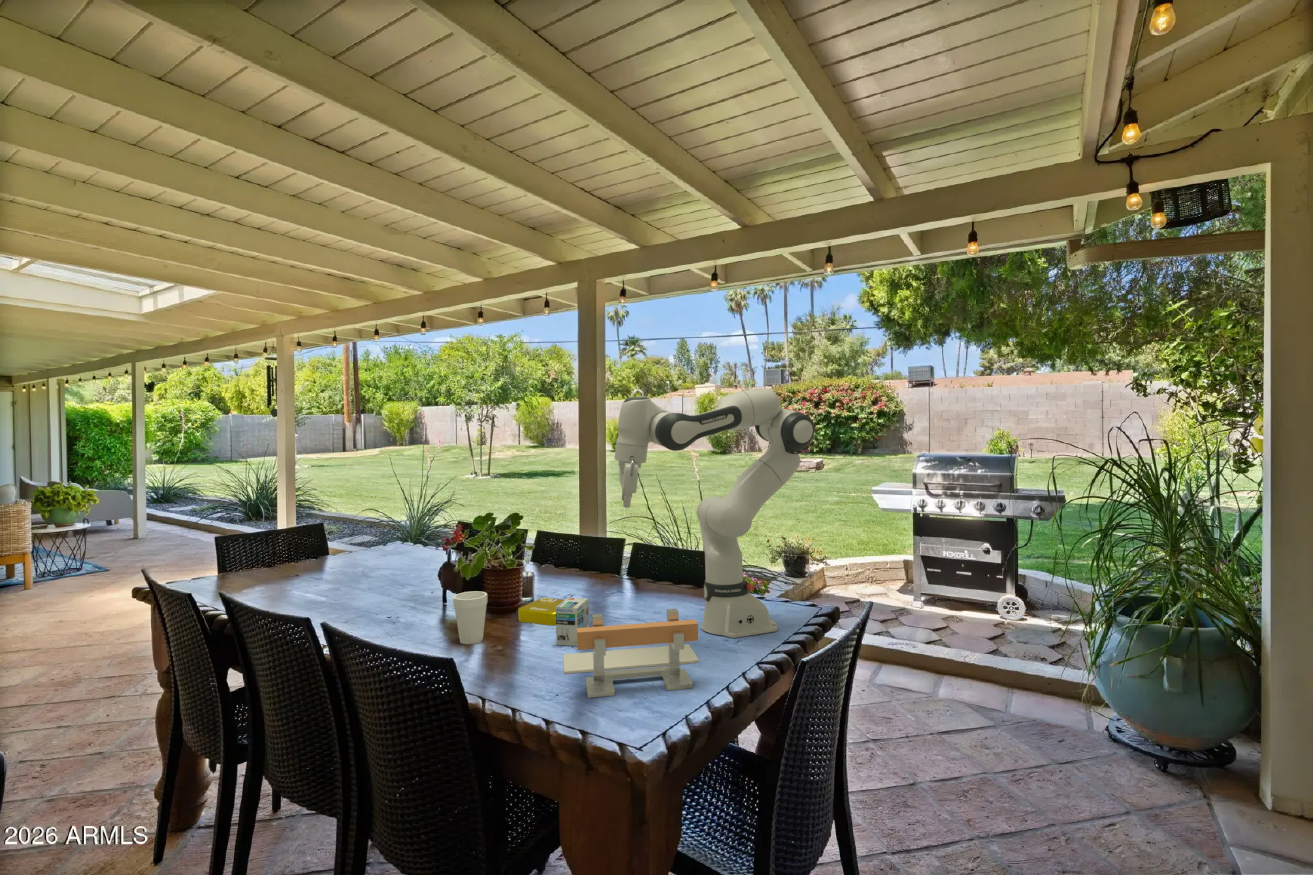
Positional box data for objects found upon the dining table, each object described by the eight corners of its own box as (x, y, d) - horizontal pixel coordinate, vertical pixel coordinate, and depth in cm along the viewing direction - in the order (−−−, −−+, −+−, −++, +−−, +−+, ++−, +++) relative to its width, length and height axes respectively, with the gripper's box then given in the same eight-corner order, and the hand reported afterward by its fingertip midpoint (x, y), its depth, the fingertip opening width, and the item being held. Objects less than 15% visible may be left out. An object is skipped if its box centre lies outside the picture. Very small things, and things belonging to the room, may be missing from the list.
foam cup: (494, 639, 176) (493, 594, 176) (465, 648, 169) (464, 601, 169) (477, 633, 182) (476, 589, 182) (448, 641, 176) (447, 596, 176)
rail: (695, 636, 145) (694, 619, 145) (698, 640, 142) (698, 623, 142) (576, 645, 141) (576, 628, 141) (577, 650, 138) (577, 632, 138)
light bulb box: (578, 646, 169) (577, 608, 169) (555, 645, 170) (554, 607, 170) (590, 634, 179) (589, 597, 179) (568, 633, 181) (567, 596, 181)
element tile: (515, 622, 193) (515, 607, 193) (542, 609, 207) (542, 595, 207) (556, 627, 187) (555, 612, 187) (580, 613, 201) (580, 599, 201)
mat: (688, 646, 167) (688, 644, 167) (699, 662, 155) (699, 660, 155) (563, 656, 161) (563, 654, 161) (564, 674, 150) (564, 671, 150)
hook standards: (684, 673, 149) (683, 607, 148) (693, 688, 140) (691, 618, 140) (585, 681, 145) (584, 614, 144) (587, 697, 136) (586, 626, 136)
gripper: (645, 460, 159) (639, 512, 159) (639, 452, 179) (634, 498, 180) (621, 457, 158) (615, 510, 159) (618, 450, 178) (613, 496, 179)
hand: (625, 504), depth 169 cm, fingers open, 8 cm apart
